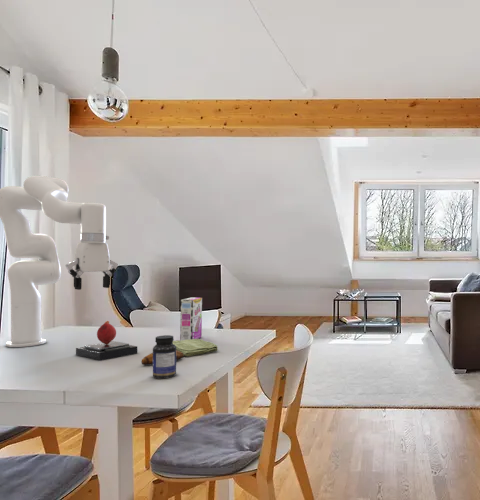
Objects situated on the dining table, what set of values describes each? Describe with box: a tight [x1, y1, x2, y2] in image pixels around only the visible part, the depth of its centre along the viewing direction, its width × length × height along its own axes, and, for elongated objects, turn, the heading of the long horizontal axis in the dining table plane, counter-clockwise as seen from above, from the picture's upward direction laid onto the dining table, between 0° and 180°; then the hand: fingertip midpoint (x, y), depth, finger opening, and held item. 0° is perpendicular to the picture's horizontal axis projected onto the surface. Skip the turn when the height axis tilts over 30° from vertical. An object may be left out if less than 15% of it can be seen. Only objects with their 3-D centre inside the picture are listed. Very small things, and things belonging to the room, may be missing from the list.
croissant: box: [140, 350, 185, 366], centre depth 149 cm, size 14×7×5 cm, turn 138°
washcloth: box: [173, 338, 219, 357], centre depth 167 cm, size 13×18×3 cm
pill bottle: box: [152, 334, 177, 380], centre depth 133 cm, size 6×6×11 cm
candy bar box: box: [179, 296, 203, 341], centre depth 188 cm, size 11×5×16 cm, turn 178°
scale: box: [75, 344, 138, 361], centre depth 162 cm, size 15×13×3 cm
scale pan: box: [83, 340, 130, 351], centre depth 162 cm, size 10×10×1 cm
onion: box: [96, 320, 117, 345], centre depth 162 cm, size 6×6×8 cm
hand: (92, 288), depth 164 cm, fingers open, 9 cm apart
